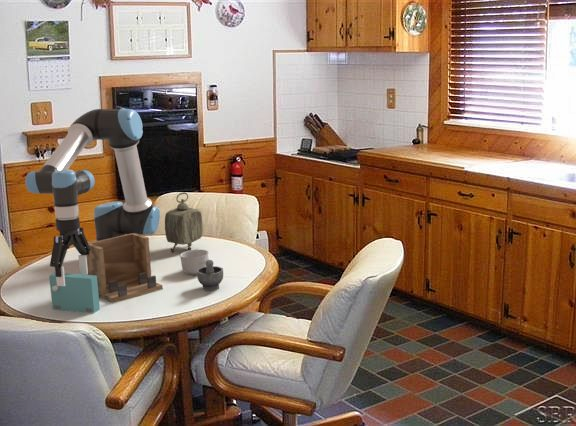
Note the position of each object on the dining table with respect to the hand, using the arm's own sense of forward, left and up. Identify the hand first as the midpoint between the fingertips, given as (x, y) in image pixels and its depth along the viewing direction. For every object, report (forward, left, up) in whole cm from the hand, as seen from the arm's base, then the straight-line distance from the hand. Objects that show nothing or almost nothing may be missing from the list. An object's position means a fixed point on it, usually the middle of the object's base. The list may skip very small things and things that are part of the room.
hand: (72, 279), depth 252 cm
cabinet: (-5, +22, -11) cm, 25 cm away
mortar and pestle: (+17, +44, -11) cm, 49 cm away
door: (0, 0, -11) cm, 11 cm away
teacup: (-4, +53, -11) cm, 54 cm away
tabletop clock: (-32, +68, -11) cm, 76 cm away
